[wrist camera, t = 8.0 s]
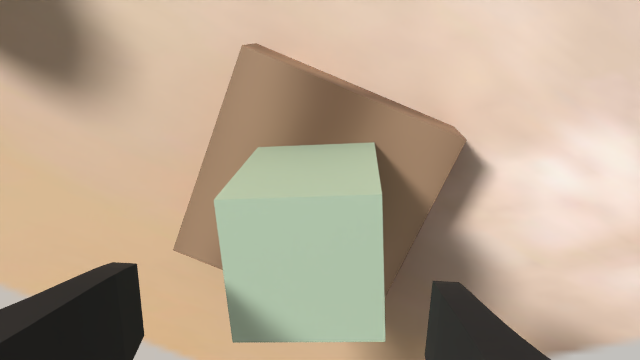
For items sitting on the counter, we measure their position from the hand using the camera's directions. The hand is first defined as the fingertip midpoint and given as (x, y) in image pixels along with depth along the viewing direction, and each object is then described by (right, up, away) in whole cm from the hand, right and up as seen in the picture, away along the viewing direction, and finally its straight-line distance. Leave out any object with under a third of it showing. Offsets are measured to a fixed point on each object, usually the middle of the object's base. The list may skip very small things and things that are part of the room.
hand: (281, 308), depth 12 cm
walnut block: (+1, +3, +10) cm, 11 cm away
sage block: (+1, +2, +7) cm, 8 cm away
